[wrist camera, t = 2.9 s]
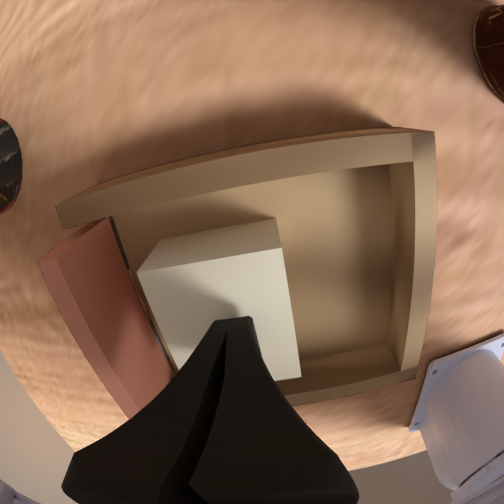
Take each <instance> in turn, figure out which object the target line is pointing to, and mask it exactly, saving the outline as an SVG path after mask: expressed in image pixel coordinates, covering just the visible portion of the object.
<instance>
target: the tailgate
mask: <svg viewBox="0 0 504 504" xmlns="http://www.w3.org/2000/svg"><path fill="white" fill-rule="evenodd" d="M37 264H38V266H39V269H40V271H41V273H42V275H43V278H44V280H45V282H46V284H47V286H48V289H49V291H50V293H51V295H52V297H53V299H54V301H55V303H56V305H57V307H58V309H59V311H60V313H61V315H62V317H63V318H64V320H65V322H66V324H67V326H68V328H69V329H70V331H71V333H72V335H73V337H74V338H75V340H76V342H77V343H78V345H79V347H80V348H81V350H82V352H83V353H84V355H85V357H86V358H87V360H88V362H89V363H90V365H91V366H92V368H93V369H94V371H95V372H96V374H97V375H98V377H99V378H100V380H101V381H102V383H103V384H104V386H105V387H106V389H107V390H108V391H109V393H110V394H111V396H112V397H113V398H114V400H115V401H116V403H117V404H118V405H119V407H120V408H121V409H122V411H123V412H124V413H125V415H126V416H127V417H128V418H129V419H131V418H132V417H133V416H134V415H135V414H137V413H138V412H139V411H140V410H141V409H143V408H144V407H145V406H146V405H147V404H148V403H150V402H151V401H152V400H153V399H154V398H155V397H156V396H157V395H158V394H159V393H160V392H161V391H162V390H163V389H164V388H165V387H166V385H167V384H168V383H169V382H170V379H171V376H172V370H171V368H170V366H169V364H168V362H169V361H170V358H169V356H168V354H167V352H166V350H165V348H164V346H163V344H162V341H161V339H160V337H159V335H158V333H157V331H156V328H155V326H154V324H153V322H152V321H150V322H149V321H148V319H147V317H146V315H145V312H144V310H143V308H142V305H141V303H140V301H139V298H138V296H137V294H136V291H135V289H134V286H133V284H132V281H131V279H130V276H129V274H128V271H127V270H128V269H130V265H129V263H128V260H127V257H126V254H125V252H124V249H123V246H122V243H121V240H120V237H119V235H118V232H117V229H116V226H115V223H114V220H113V219H110V220H109V218H108V217H106V218H102V219H99V220H95V221H92V222H89V223H88V224H86V225H85V226H84V227H82V228H81V229H79V230H78V231H77V232H75V233H74V234H73V235H71V236H70V237H69V238H67V239H66V240H65V241H64V242H62V243H61V244H60V245H58V246H57V247H56V248H55V249H53V250H52V251H51V252H50V253H48V254H47V255H46V256H45V257H43V258H42V259H41V260H40V261H39V262H37Z"/></svg>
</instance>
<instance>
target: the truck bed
mask: <svg viewBox="0 0 504 504" xmlns="http://www.w3.org/2000/svg"><path fill="white" fill-rule="evenodd" d="M55 207H56V210H57V213H58V216H59V219H60V222H61V225H62V228H63V230H64V229H68V228H71V227H74V226H78V225H81V224H85V223H88V222H92V221H95V220H99V219H102V218H106V217H110V216H113V220H114V223H115V226H116V229H117V232H118V235H119V237H120V240H121V243H122V246H123V249H124V252H125V254H126V257H127V260H128V263H129V265H130V268H131V271H132V273H133V276H134V278H135V281H136V283H137V286H138V288H139V291H140V293H141V296H142V298H143V301H144V303H145V305H146V308H147V310H148V312H149V315H150V317H151V319H152V322H153V324H154V326H155V328H156V331H157V333H158V335H159V337H160V339H161V341H162V344H163V346H164V348H165V350H166V352H167V354H168V356H169V358H170V360H171V361H169V362H168V364H169V366H170V368H171V370H172V376H171V379H170V381H171V380H172V379H173V377H174V376H175V375H176V374H177V372H178V371H179V369H178V367H177V365H176V363H175V361H174V359H173V357H172V355H171V353H170V351H169V348H168V346H167V344H166V342H165V340H164V338H163V335H162V333H161V331H160V329H159V326H158V324H157V322H156V320H155V317H154V315H153V313H152V310H151V308H150V305H149V303H148V301H147V298H146V296H145V293H144V291H143V288H142V286H141V283H140V281H139V278H138V275H137V271H138V270H139V268H140V267H141V266H142V264H143V263H144V261H145V260H146V259H147V257H148V256H149V254H150V253H151V252H152V250H153V249H154V248H155V246H156V245H157V243H158V242H159V241H160V240H162V239H167V238H172V237H177V236H182V235H187V234H192V233H197V232H202V231H208V230H213V229H218V228H224V227H229V226H234V225H240V224H245V223H251V222H256V221H262V220H268V219H273V218H276V220H277V226H278V231H279V236H280V241H281V246H282V252H283V258H284V264H285V270H286V276H287V283H288V289H289V295H290V302H291V308H292V315H293V321H294V328H295V335H296V341H297V348H298V355H299V362H300V369H301V377H298V378H291V379H285V380H278V381H275V383H276V384H277V386H278V387H279V389H280V391H281V392H282V394H283V395H284V397H285V398H286V399H287V401H288V402H289V404H290V405H291V406H297V405H303V404H309V403H315V402H321V401H326V400H331V399H336V398H341V397H346V396H351V395H355V394H359V393H364V392H368V391H372V390H376V389H380V388H383V387H387V386H391V385H394V384H398V383H401V382H405V381H408V380H411V379H415V377H416V373H417V369H418V365H419V360H420V356H421V351H422V346H423V341H424V336H425V331H426V325H427V320H428V313H429V307H430V300H431V292H432V284H433V275H434V265H435V252H436V236H437V164H436V148H435V136H434V132H433V131H426V130H418V129H410V128H402V127H382V128H369V129H358V130H348V131H338V132H330V133H322V134H314V135H307V136H300V137H293V138H287V139H280V140H274V141H269V142H263V143H257V144H252V145H247V146H242V147H237V148H232V149H227V150H222V151H218V152H213V153H209V154H204V155H200V156H196V157H191V158H187V159H183V160H179V161H175V162H171V163H168V164H164V165H160V166H156V167H153V168H149V169H146V170H142V171H139V172H135V173H132V174H129V175H125V176H122V177H119V178H116V179H112V180H109V181H106V182H103V183H100V184H97V185H95V186H93V187H90V188H88V189H86V190H84V191H82V192H81V193H79V194H77V195H75V196H73V197H71V198H69V199H67V200H65V201H63V202H61V203H60V204H58V205H56V206H55Z"/></svg>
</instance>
